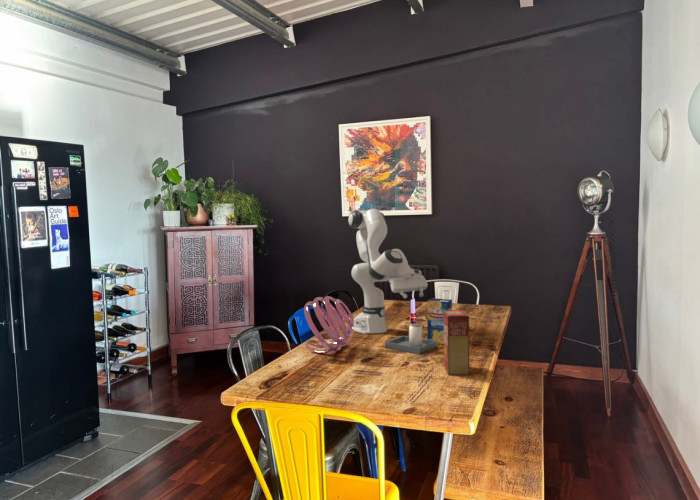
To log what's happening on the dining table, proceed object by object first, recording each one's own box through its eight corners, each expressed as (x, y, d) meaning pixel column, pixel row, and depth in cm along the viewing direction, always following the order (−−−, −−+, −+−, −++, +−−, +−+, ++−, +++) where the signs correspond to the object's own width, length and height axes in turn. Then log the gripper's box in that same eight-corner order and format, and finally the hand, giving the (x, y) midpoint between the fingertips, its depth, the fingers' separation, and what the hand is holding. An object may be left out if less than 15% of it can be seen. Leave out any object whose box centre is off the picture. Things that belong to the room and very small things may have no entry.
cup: (406, 348, 252) (406, 325, 252) (413, 345, 257) (413, 323, 256) (417, 350, 248) (417, 327, 248) (424, 347, 253) (424, 325, 252)
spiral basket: (277, 314, 247) (323, 283, 242) (302, 316, 273) (343, 288, 268) (304, 365, 238) (352, 334, 233) (327, 363, 264) (370, 335, 259)
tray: (385, 347, 257) (385, 341, 257) (403, 341, 270) (402, 335, 269) (419, 354, 245) (419, 348, 244) (436, 347, 257) (436, 341, 257)
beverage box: (447, 344, 262) (448, 301, 260) (427, 342, 267) (427, 300, 265) (451, 341, 268) (452, 299, 266) (431, 339, 273) (431, 298, 271)
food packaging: (442, 365, 227) (442, 309, 225) (464, 365, 227) (464, 309, 225) (447, 375, 214) (447, 315, 212) (470, 375, 213) (470, 315, 212)
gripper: (389, 273, 268) (398, 295, 260) (423, 270, 276) (433, 291, 268) (385, 280, 273) (394, 302, 265) (419, 277, 280) (428, 298, 272)
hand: (413, 297), depth 266 cm, fingers open, 8 cm apart
